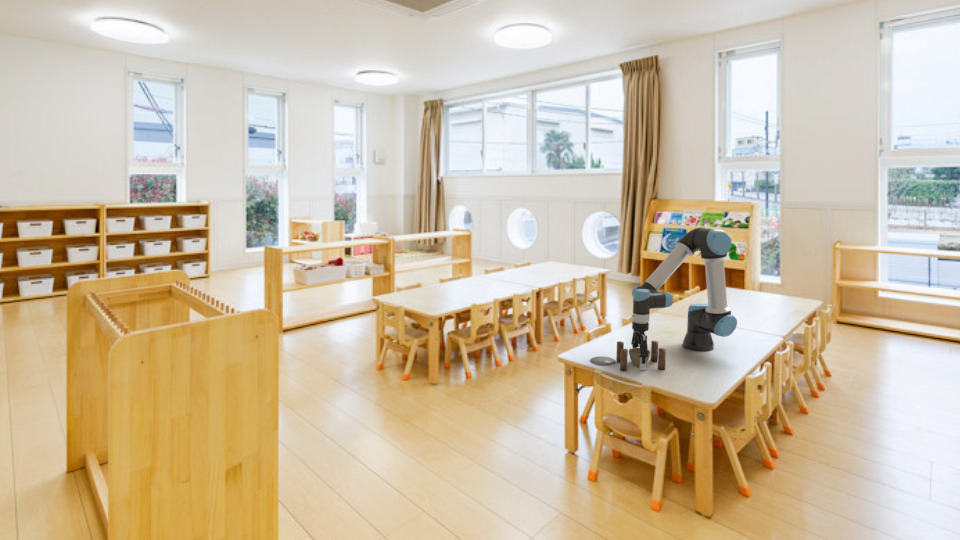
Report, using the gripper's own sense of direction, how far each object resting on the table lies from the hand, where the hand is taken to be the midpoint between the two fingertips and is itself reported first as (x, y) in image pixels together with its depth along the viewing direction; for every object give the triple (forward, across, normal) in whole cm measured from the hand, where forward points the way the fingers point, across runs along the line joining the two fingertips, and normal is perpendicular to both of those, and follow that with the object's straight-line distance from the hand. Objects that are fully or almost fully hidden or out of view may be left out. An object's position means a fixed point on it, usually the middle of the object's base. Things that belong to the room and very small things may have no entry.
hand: (638, 365), depth 251 cm
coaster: (0, -6, -16) cm, 17 cm away
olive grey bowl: (0, 0, 0) cm, 0 cm away
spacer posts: (0, 0, 0) cm, 0 cm away
